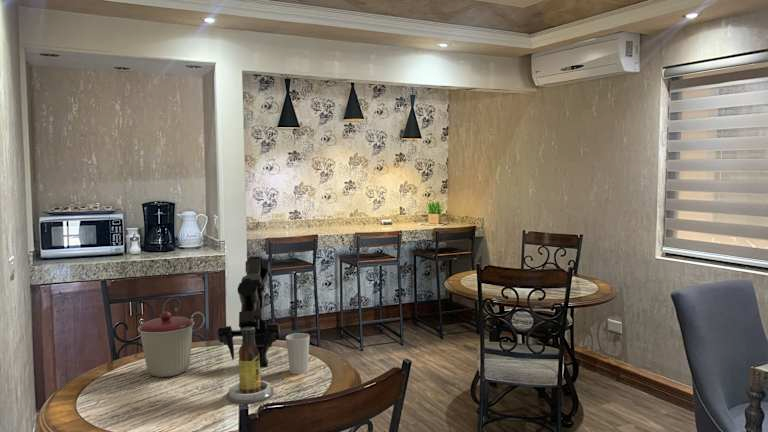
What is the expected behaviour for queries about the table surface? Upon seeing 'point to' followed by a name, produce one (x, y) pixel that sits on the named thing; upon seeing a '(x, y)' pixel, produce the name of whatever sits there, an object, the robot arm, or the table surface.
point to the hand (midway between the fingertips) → (248, 357)
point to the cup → (298, 352)
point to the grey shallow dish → (239, 398)
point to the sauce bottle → (249, 362)
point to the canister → (167, 344)
